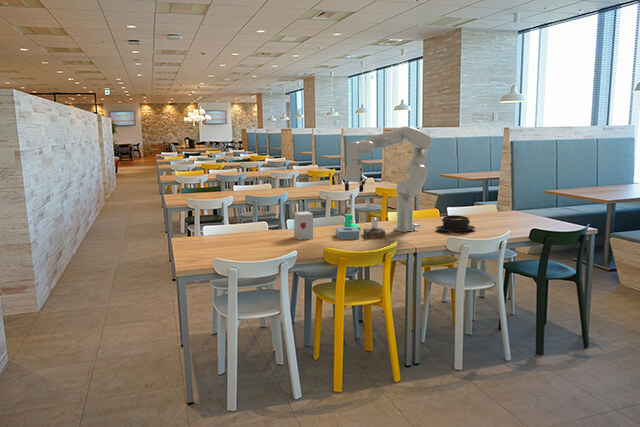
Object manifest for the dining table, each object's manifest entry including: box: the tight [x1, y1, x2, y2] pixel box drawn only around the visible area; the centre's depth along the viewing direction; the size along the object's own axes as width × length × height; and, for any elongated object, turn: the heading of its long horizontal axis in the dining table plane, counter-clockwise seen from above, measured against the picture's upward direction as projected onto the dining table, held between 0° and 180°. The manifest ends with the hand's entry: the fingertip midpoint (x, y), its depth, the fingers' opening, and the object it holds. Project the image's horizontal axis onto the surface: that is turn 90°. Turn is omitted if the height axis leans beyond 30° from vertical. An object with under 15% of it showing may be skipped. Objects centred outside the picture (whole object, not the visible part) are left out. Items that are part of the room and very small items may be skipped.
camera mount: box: [343, 213, 361, 231], centre depth 306 cm, size 12×8×10 cm, turn 12°
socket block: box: [335, 226, 360, 240], centre depth 288 cm, size 12×12×4 cm
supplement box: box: [293, 211, 314, 241], centre depth 285 cm, size 9×9×15 cm
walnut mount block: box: [363, 227, 386, 239], centre depth 289 cm, size 11×11×4 cm
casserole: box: [435, 214, 476, 233], centre depth 302 cm, size 25×19×8 cm
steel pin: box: [371, 216, 378, 231], centre depth 289 cm, size 3×3×11 cm
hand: (354, 191), depth 291 cm, fingers open, 9 cm apart
